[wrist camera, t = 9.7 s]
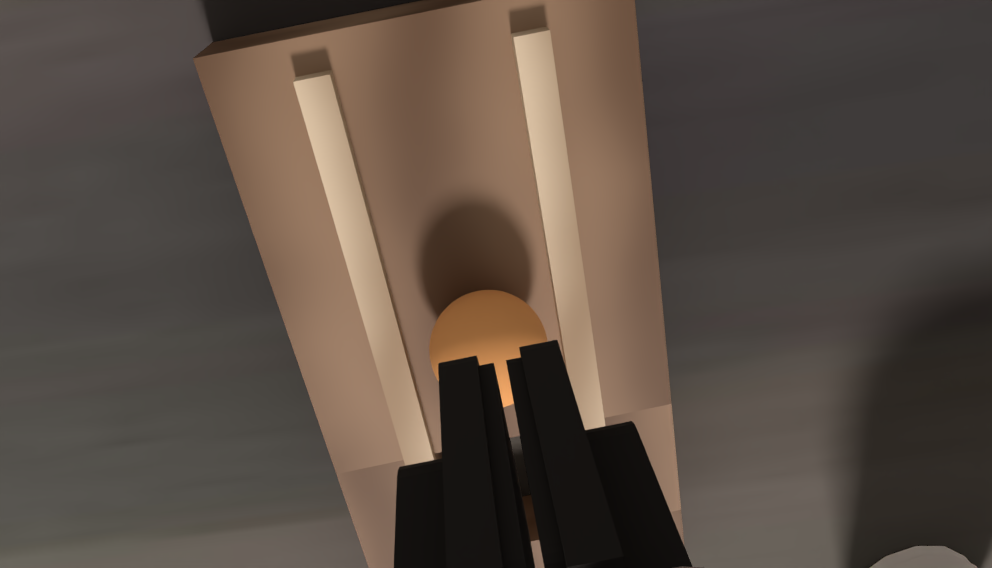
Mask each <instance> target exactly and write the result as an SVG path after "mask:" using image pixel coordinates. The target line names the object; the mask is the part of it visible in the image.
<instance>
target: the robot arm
mask: <svg viewBox="0 0 992 568" xmlns="http://www.w3.org/2000/svg"><path fill="white" fill-rule="evenodd" d="M519 350H520V355H521V357H520V358H515V359H510V360H506V363H507V369H508V374H509V379H510V385H511V390H512V396H513V401H514V406H515V412H516V417H517V423H518V428H519V433H520V439H521V444H522V450H523V455H524V461H525V466H526V471H527V477H528V482H529V488H530V493H531V498H532V504H533V509H534V515H535V520H536V525H537V531H538V536H539V542H540V547H541V552H542V558H543V563H544V568H703V567H692V564H691V562H690V559H689V557H688V554H687V552H686V549H685V547H684V544H683V542H682V539H681V537H680V535H679V532H678V530H677V527H676V525H675V522H674V520H673V517H672V515H671V512H670V510H669V507H668V505H667V502H666V500H665V497H664V495H663V492H662V490H661V487H660V485H659V482H658V480H657V477H656V475H655V472H654V470H653V467H652V465H651V462H650V460H649V457H648V455H647V452H646V450H645V448H644V445H643V443H642V440H641V438H640V435H639V433H638V430H637V428H636V426H635V424H634V423H633V422H632V421H629V422H624V423H619V424H614V425H609V426H604V427H599V428H594V429H588V430H585V428H584V425H583V422H582V418H581V415H580V412H579V408H578V405H577V402H576V399H575V395H574V392H573V389H572V386H571V382H570V379H569V376H568V373H567V369H566V366H565V363H564V360H563V356H562V353H561V350H560V346H559V343H558V340H552V341H547V342H542V343H537V344H532V345H527V346H522V347H519ZM438 375H439V399H440V423H441V447H442V459H437V460H432V461H427V462H421V463H416V464H411V465H406V466H401V467H399V469H398V473H397V489H396V517H395V545H394V568H535V563H534V557H533V552H532V546H531V540H530V534H529V529H528V523H527V518H526V513H525V508H524V503H523V498H522V494H521V489H520V484H519V479H518V475H517V470H516V465H515V460H514V456H513V451H512V446H511V441H510V437H509V432H508V427H507V422H506V418H505V413H504V408H503V403H502V399H501V394H500V389H499V384H498V380H497V375H496V370H495V366H494V363H489V364H484V365H479V362H478V358H477V355H476V356H471V357H466V358H461V359H456V360H451V361H446V362H441V363H439V364H438Z"/></svg>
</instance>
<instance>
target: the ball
mask: <svg viewBox="0 0 992 568" xmlns="http://www.w3.org/2000/svg"><path fill="white" fill-rule="evenodd" d="M542 342H547V336H546V332H545V329H544V326H543V324H542V322H541V320H540V318H539V317H538V316H537V314H536V313H535V311H534V310H533V309H532V308H531V307H530V306H529V305H528V304H527V303H525V302H524V301H523V300H521V299H520V298H518V297H516V296H514V295H512V294H509V293H507V292H503V291H498V290H480V291H475V292H471V293H468V294H466V295H463V296H461V297H460V298H458V299H456V300H455V301H453V302H452V303H451V304H450V305H449V306H448V307H447V308H446V309H445V310H444V311H443V312H442V313H441V315H440V316H439V318H438V319H437V321H436V323H435V325H434V328H433V330H432V333H431V338H430V345H429V354H430V361H431V365H432V369H433V371H434V374H435V376H436V378H437V380H438V381H439V375H438V364H439V363H441V362H446V361H451V360H456V359H461V358H466V357H471V356H476V355H477V358H478V362H479V365H484V364H489V363H494V366H495V370H496V375H497V380H498V384H499V389H500V394H501V399H502V403H503V407H506V406H509V405H512V404H514V401H513V396H512V390H511V385H510V379H509V374H508V369H507V363H506V360H510V359H515V358H520V357H521V355H520V350H519V347H522V346H527V345H532V344H537V343H542Z"/></svg>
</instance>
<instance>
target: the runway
mask: <svg viewBox="0 0 992 568" xmlns="http://www.w3.org/2000/svg"><path fill="white" fill-rule="evenodd" d="M193 60H194V63H195V66H196V69H197V72H198V75H199V78H200V81H201V83H202V86H203V89H204V92H205V95H206V98H207V101H208V104H209V107H210V109H211V112H212V115H213V118H214V121H215V124H216V127H217V130H218V133H219V136H220V138H221V141H222V144H223V147H224V150H225V153H226V156H227V159H228V162H229V164H230V167H231V170H232V173H233V176H234V179H235V182H236V185H237V188H238V191H239V193H240V196H241V199H242V202H243V205H244V208H245V211H246V214H247V217H248V219H249V222H250V225H251V228H252V231H253V234H254V237H255V240H256V243H257V246H258V248H259V251H260V254H261V257H262V260H263V263H264V266H265V269H266V272H267V274H268V277H269V280H270V283H271V286H272V289H273V292H274V295H275V298H276V301H277V303H278V306H279V309H280V312H281V315H282V318H283V321H284V324H285V327H286V329H287V332H288V335H289V338H290V341H291V344H292V347H293V350H294V353H295V355H296V358H297V361H298V364H299V367H300V370H301V373H302V376H303V379H304V382H305V384H306V387H307V390H308V393H309V396H310V399H311V402H312V405H313V408H314V410H315V413H316V416H317V419H318V422H319V425H320V428H321V431H322V434H323V437H324V439H325V442H326V445H327V448H328V451H329V454H330V457H331V460H332V463H333V465H334V468H335V471H336V474H337V477H338V480H339V483H340V486H341V489H342V492H343V494H344V497H345V500H346V503H347V506H348V509H349V512H350V515H351V518H352V520H353V523H354V526H355V529H356V532H357V535H358V538H359V541H360V544H361V547H362V549H363V552H364V555H365V558H366V561H367V564H368V567H369V568H394V545H395V517H396V489H397V473H398V469H399V467H401V466H406V465H411V464H416V463H421V462H427V461H432V460H437V459H442V447H441V423H440V399H439V381H438V380H437V378H436V376H435V374H434V371H433V369H432V365H431V361H430V354H429V345H430V338H431V333H432V330H433V328H434V325H435V323H436V321H437V319H438V318H439V316H440V315H441V313H442V312H443V311H444V310H445V309H446V308H447V307H448V306H449V305H450V304H451V303H452V302H453V301H455V300H456V299H458V298H460V297H461V296H463V295H466V294H468V293H471V292H475V291H480V290H498V291H503V292H507V293H509V294H512V295H514V296H516V297H518V298H520V299H521V300H523V301H524V302H525V303H527V304H528V305H529V306H530V307H531V308H532V309H533V310H534V311H535V313H536V314H537V316H538V317H539V318H540V320H541V322H542V324H543V326H544V329H545V332H546V336H547V341H552V340H558V343H559V346H560V350H561V353H562V356H563V360H564V363H565V366H566V369H567V373H568V376H569V379H570V382H571V386H572V389H573V392H574V395H575V399H576V402H577V405H578V408H579V412H580V415H581V418H582V422H583V425H584V428H585V430H588V429H594V428H599V427H604V426H609V425H614V424H619V423H624V422H629V421H632V422H633V423H634V424H635V426H636V428H637V430H638V433H639V435H640V438H641V440H642V443H643V445H644V448H645V450H646V452H647V455H648V457H649V460H650V462H651V465H652V467H653V470H654V472H655V475H656V477H657V480H658V482H659V485H660V487H661V490H662V492H663V495H664V497H665V500H666V502H667V505H668V507H669V510H670V512H671V515H672V517H673V520H674V522H675V525H676V527H677V530H678V532H679V535H680V537H681V539H682V542H683V544H684V537H683V526H682V515H681V504H680V493H679V482H678V471H677V460H676V449H675V438H674V427H673V416H672V405H671V394H670V383H669V372H668V361H667V350H666V339H665V328H664V317H663V307H662V296H661V285H660V274H659V263H658V252H657V241H656V230H655V219H654V208H653V197H652V186H651V175H650V164H649V153H648V142H647V131H646V120H645V109H644V98H643V87H642V76H641V65H640V54H639V43H638V32H637V21H636V10H635V0H421V1H416V2H411V3H406V4H401V5H396V6H391V7H386V8H381V9H376V10H371V11H366V12H361V13H356V14H351V15H346V16H341V17H336V18H331V19H326V20H321V21H316V22H311V23H307V24H302V25H297V26H292V27H287V28H282V29H277V30H272V31H267V32H262V33H257V34H252V35H247V36H242V37H237V38H232V39H227V40H222V41H217V42H212V43H211V44H210V45H209V46H208V47H206V48H205V49H204V50H203V51H201V52H200V53H199V54H198V55H197V56H195V57H194V58H193ZM503 408H504V413H505V418H506V422H507V427H508V432H509V437H510V438H511V437H516V436H520V433H519V428H518V423H517V417H516V412H515V406H514V404H512V405H509V406H506V407H503ZM522 498H523V503H524V508H525V513H526V518H527V523H528V529H529V534H530V540H531V546H532V552H533V557H534V563H535V568H544V563H543V558H542V552H541V547H540V542H539V536H538V531H537V525H536V520H535V515H534V509H533V504H532V498H531V495H528V496H523V497H522Z"/></svg>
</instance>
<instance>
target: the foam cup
mask: <svg viewBox="0 0 992 568" xmlns="http://www.w3.org/2000/svg"><path fill="white" fill-rule="evenodd" d="M870 568H978V567H977V566H975V565H974V564H971V563H970V562H969V561H968V559H967V558H966V557H965V556H963V555H961V554H959V553H957V552H955V551H953V550H951V549H949V548H947V547H945V546H914V547H911V548H908V549H905V550H902V551H899V552H897V553H894V554H891V555H888V556H885V557H884V558H883V559H881V560H880V561H878V562H877V563H876V564H874V565H873V566H871V567H870Z"/></svg>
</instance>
